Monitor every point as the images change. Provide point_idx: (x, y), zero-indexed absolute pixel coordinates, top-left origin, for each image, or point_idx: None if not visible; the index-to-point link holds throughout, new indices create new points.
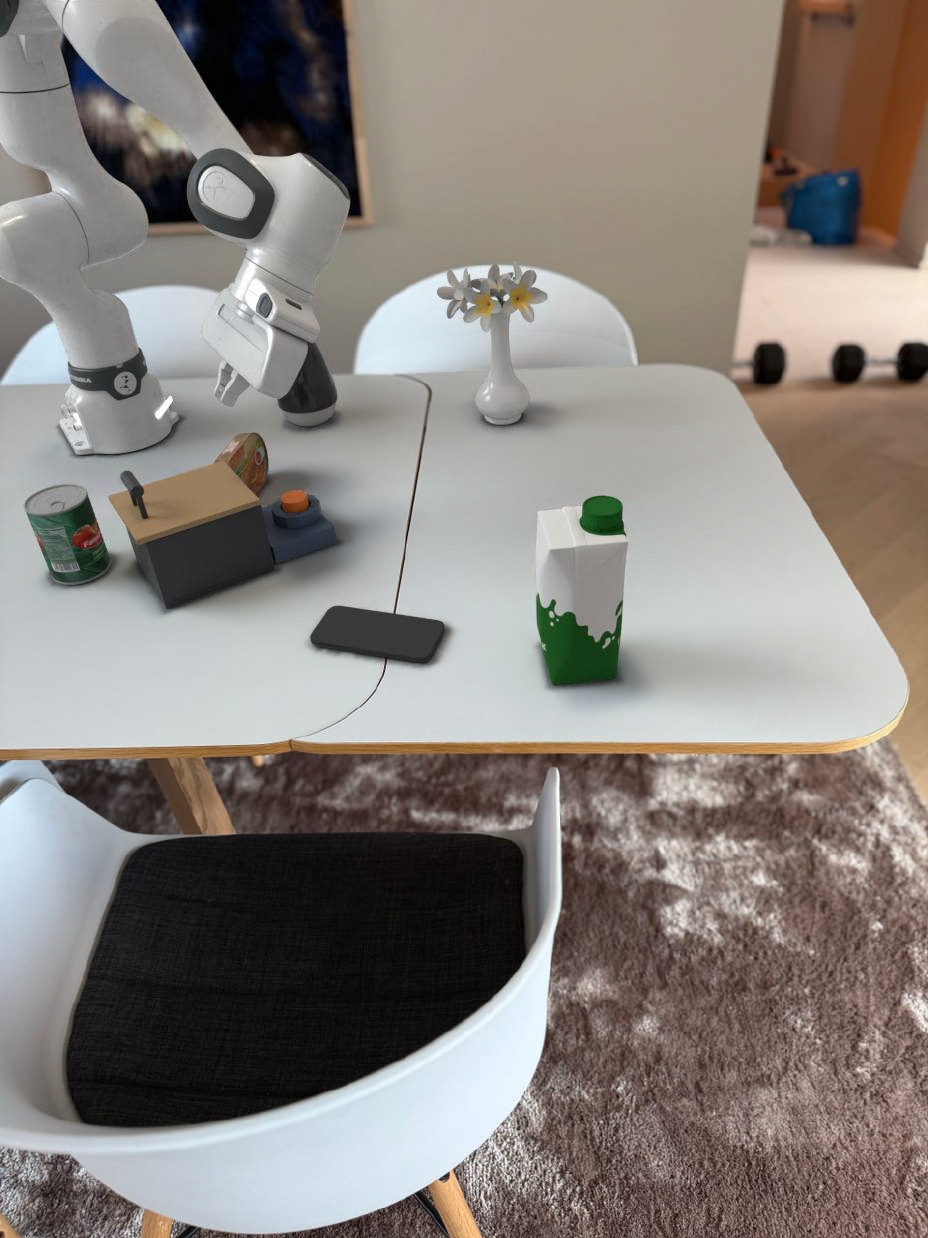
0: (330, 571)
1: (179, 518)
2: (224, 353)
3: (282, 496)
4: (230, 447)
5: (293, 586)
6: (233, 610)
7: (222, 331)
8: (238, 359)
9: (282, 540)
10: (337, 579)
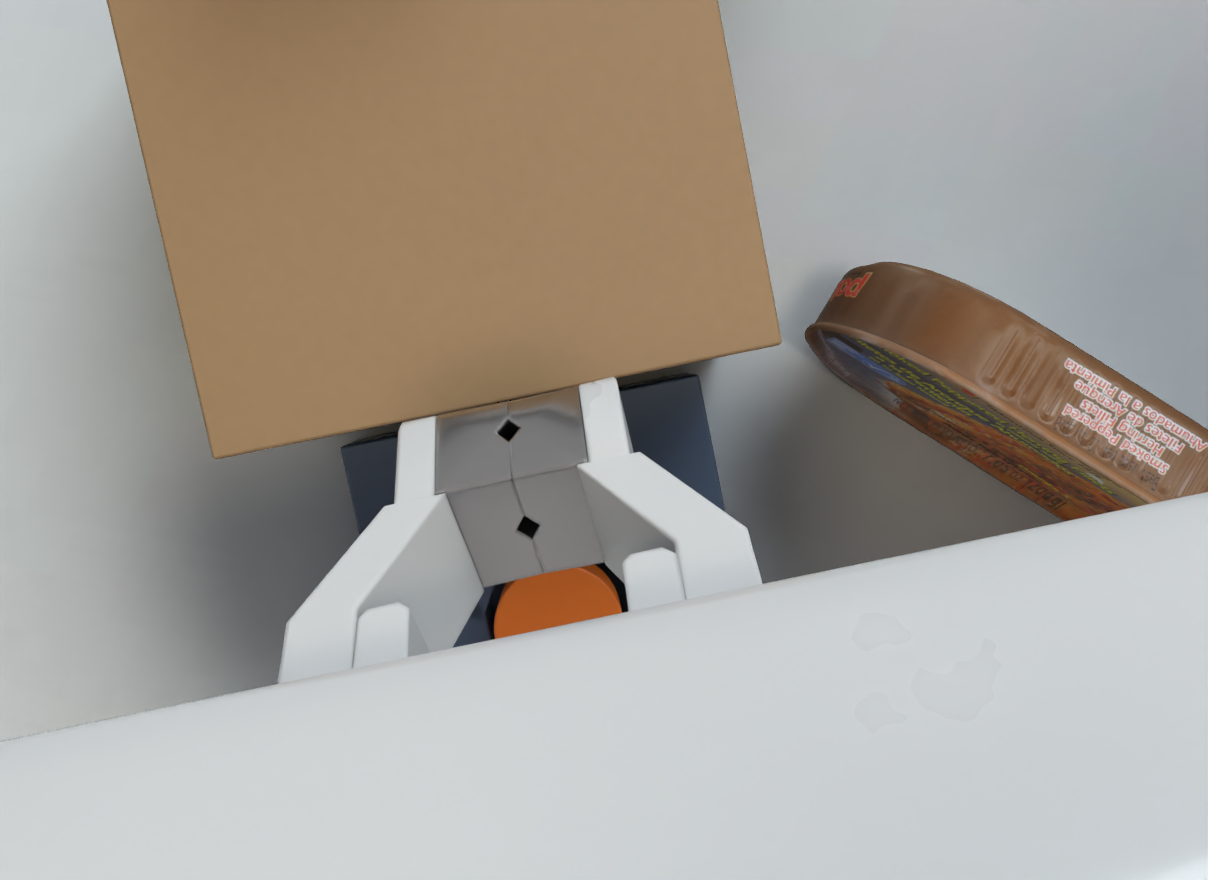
0: (216, 633)
1: (188, 9)
2: (609, 656)
3: (585, 577)
4: (1123, 415)
5: (171, 474)
6: (101, 221)
7: (1018, 786)
8: (192, 804)
9: (380, 499)
10: (148, 646)
